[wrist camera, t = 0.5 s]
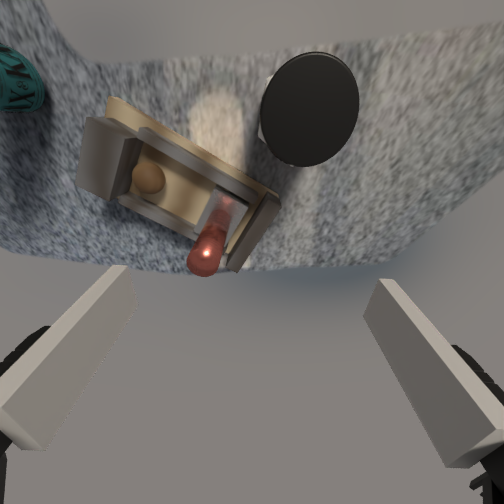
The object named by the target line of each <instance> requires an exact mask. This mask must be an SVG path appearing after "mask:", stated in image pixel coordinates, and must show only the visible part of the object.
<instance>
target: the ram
mask: <svg viewBox="0 0 504 504" xmlns="http://www.w3.org/2000/svg"><path fill="white" fill-rule="evenodd" d="M248 207H249V202H248V201H247V200H245V199H243V198H241V197H240V196H238V195H236V194H234V193H233V192H231V191H229V190H227V189H226V188H224V187H222V186H220V185H219V184H217V185H216V186H215V188H214V190H213V192H212V194H211V196H210V198H209V200H208V202H207V204H206V206H205V208H204V210H203V212H202V214H201V216H200V218H199V220H198V222H197V224H196V226H195V229H194V231H193V232H195V233H197V234H199V236H198V238H197V240H196V242H195V244H194V246H193V248H192V250H191V251H190V253H189V255H188V257H187V266H188V268H189V270H190V271H191V272H192V273H194V274H195V275H197V276H201V277H208V276H211V275H213V274H214V273H216V271H217V270H218V267H219V263H220V259H221V256H222V252H223V249H224V247H225V246H226V244H227V243H228V241H229V239H230V238H231V236H232V234H233V233H234V231H235V229H236V228H237V226H238V224H239V223H240V221H241V219H242V218H243V216H244V214H245V213H246V211H247V209H248Z"/></svg>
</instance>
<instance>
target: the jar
mask: <svg viewBox="0 0 504 504" xmlns="http://www.w3.org/2000/svg"><path fill="white" fill-rule="evenodd" d="M358 113H359V92H358V87H357V83H356V80H355V78H354V76H353V74H352V72H351V71H350V69H349V68H348V67H347V65H346V64H345V63H344V62H343V61H341V60H340V59H339V58H337V57H335V56H333V55H331V54H328V53H324V52H308V53H303V54H300V55H298V56H296V57H294V58H292V59H290V60H289V61H287V62H286V63H285V64H284V65H283V66H281V67H280V68H279V69H278V71H277V72H276V73H275V74H274V75H272V76H270V77H268V78H267V79H266V83H265V89H264V94H263V99H262V103H261V109H260V121H259V128H258V137H259V138H260V139H261V140H262V141H263V142H265V143H266V144H267V146H268V147H269V149H270V150H271V151H272V153H273V154H274V155H275V156H276V157H277V158H279V159H280V160H281V161H283V162H285V163H287V164H289V165H290V166H291V167H293V166H297V167H310V166H315V165H318V164H321V163H323V162H325V161H327V160H328V159H330V158H331V157H333V156H334V155H335V154H337V153H338V152H339V151H340V150H341V148H342V147H343V146H344V145H345V144H346V142H347V141H348V139H349V138H350V136H351V134H352V132H353V130H354V127H355V125H356V121H357V118H358Z"/></svg>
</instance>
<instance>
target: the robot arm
mask: <svg viewBox="0 0 504 504" xmlns="http://www.w3.org/2000/svg"><path fill="white" fill-rule="evenodd" d="M137 307H138V301H137V298H136V294H135V291H134V287H133V283H132V279H131V276H130V272H129V269H128V266H124V265H112V266H111V267H110V268H109V269H108V270H107V271H106V272H105V273H104V274H103V275H102V276H101V277H100V278H99V279H98V280H97V281H96V282H95V283H94V284H93V285H92V286H91V287H90V288H89V289H88V290H87V291H86V292H85V293H84V294H83V295H82V296H81V297H80V298H79V299H78V300H77V301H76V302H75V303H74V304H73V305H72V306H71V307H70V308H69V309H68V310H67V311H66V312H65V313H64V314H63V315H62V316H61V317H60V318H59V319H58V320H57V321H56V322H55V323H54V324H53V325H52V326H44V327H42V328H40V329H39V330H37V331H36V332H34V333H33V334H31V335H29V336H28V337H27V338H26V339H25V340H24V341H23V342H22V343H21V344H19V345H18V346H17V347H16V348H15V351H12V352H11V353H10V354H9V355H8V356H7V357H6V358H5V359H4V361H3V362H0V504H3V502H4V491H5V479H6V466H7V458H6V453H5V451H6V450H7V448H8V447H9V446H10V444H11V443H12V442H13V443H14V444H15V445H16V446H17V447H19V448H20V449H21V450H38V451H45V450H46V449H47V447H48V446H49V444H50V443H51V441H52V439H53V438H54V436H55V435H56V433H57V432H58V430H59V428H60V427H61V425H62V424H63V422H64V421H65V419H66V418H67V416H68V414H69V413H70V411H71V410H72V408H73V407H74V405H75V403H76V402H77V400H78V399H79V397H80V396H81V394H82V393H83V391H84V390H85V388H86V386H87V385H88V383H89V382H90V380H91V379H92V377H93V375H94V374H95V372H96V371H97V369H98V367H99V366H100V365H101V363H102V361H103V360H104V358H105V357H106V355H107V354H108V352H109V351H110V349H111V347H112V346H113V344H114V343H115V341H116V340H117V338H118V337H119V335H120V333H121V332H122V330H123V329H124V327H125V326H126V324H127V322H128V321H129V319H130V318H131V316H132V314H133V313H134V311H135V310H136V308H137ZM363 317H364V319H365V321H366V323H367V325H368V326H369V328H370V330H371V332H372V334H373V336H374V337H375V339H376V341H377V343H378V345H379V346H380V348H381V350H382V352H383V354H384V355H385V357H386V359H387V361H388V363H389V365H390V366H391V368H392V370H393V372H394V374H395V376H396V377H397V379H398V381H399V383H400V385H401V387H402V388H403V390H404V392H405V394H406V396H407V397H408V399H409V401H410V403H411V405H412V407H413V408H414V410H415V412H416V414H417V416H418V417H419V419H420V421H421V423H422V425H423V427H424V428H425V430H426V432H427V434H428V436H429V437H430V439H431V441H432V443H433V445H434V447H435V448H436V450H437V452H438V454H439V456H440V458H441V459H442V461H443V463H444V465H445V467H447V468H470V467H472V466H473V465H475V464H476V463H478V462H479V461H480V462H481V464H482V465H483V467H484V468H485V470H486V472H485V473H483V474H482V475H480V476H479V477H477V478H475V479H474V480H472V481H471V483H470V486H469V487H470V488H471V489H473V490H475V489H477V488H478V487H480V486H482V485H483V492H482V493H481V494H480V495H481V496H482V497H483V504H504V392H503V390H502V389H501V388H500V387H499V386H498V385H497V384H495V383H494V381H493V379H492V378H491V377H490V376H489V375H488V374H487V373H484V370H483V369H482V368H481V366H480V365H479V364H478V363H477V362H476V361H475V360H474V359H473V358H472V357H471V356H470V355H469V354H467V353H466V352H465V351H463V350H462V349H461V348H459V347H458V346H457V345H450V344H449V343H448V342H447V341H446V340H445V338H444V337H443V336H442V335H441V334H440V333H439V331H438V330H437V329H436V328H435V327H434V326H433V325H432V323H431V322H430V321H429V320H428V319H427V318H426V316H425V315H424V314H423V313H422V312H421V311H420V310H419V308H418V307H417V306H416V305H415V304H414V303H413V302H412V301H411V299H410V298H409V297H408V296H407V295H406V294H405V292H404V291H403V290H402V289H401V288H400V287H399V286H398V284H397V283H396V282H395V281H394V280H393V279H379V280H378V282H377V284H376V287H375V289H374V291H373V294H372V296H371V298H370V301H369V303H368V306H367V308H366V310H365V313H364V315H363Z"/></svg>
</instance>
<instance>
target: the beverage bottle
mask: <svg viewBox="0 0 504 504" xmlns="http://www.w3.org/2000/svg"><path fill="white" fill-rule="evenodd" d="M4 45H5V44H4ZM4 45H3V43H2V44H1V43H0V110H1V111H12V112H8V113H13V111H15V112H16V111H17V112H18V113H23V112H26V113H28V112H31V111H33V112H34V110H36V109H38V108H40V107H41V105H42V104H43V101H44V97H45V91H44V86H43V82H42V80H41V77H40V75H39V74H38V72H37V70H36V69H35V67H34V66H33V65H32V64H31V63H30V62H29V61H28V60H27V59H26V58H25V57H24V56H23V55H21V54H20V53H18V51H15V50H14V49H12V48H10V47H7V46H4Z"/></svg>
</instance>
